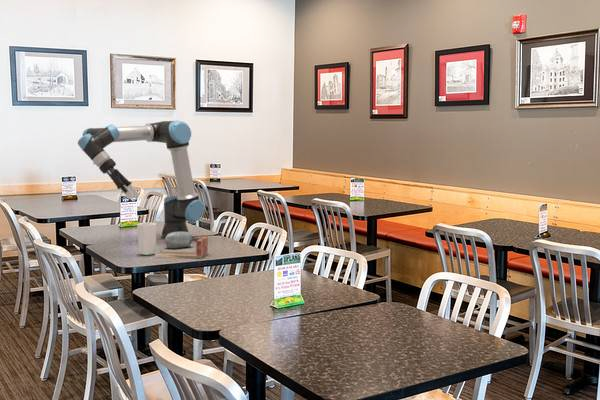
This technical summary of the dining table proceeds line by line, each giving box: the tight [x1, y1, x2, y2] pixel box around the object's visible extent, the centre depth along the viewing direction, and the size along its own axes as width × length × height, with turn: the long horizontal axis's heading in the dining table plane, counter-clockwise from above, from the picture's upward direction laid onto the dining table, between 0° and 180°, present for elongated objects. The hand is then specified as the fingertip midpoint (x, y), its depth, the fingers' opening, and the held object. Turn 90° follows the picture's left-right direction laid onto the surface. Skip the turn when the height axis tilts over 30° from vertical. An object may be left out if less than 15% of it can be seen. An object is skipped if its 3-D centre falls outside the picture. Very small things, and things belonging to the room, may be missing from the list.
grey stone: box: [164, 231, 193, 249], centre depth 330 cm, size 14×10×10 cm
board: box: [154, 236, 209, 260], centre depth 309 cm, size 12×22×8 cm, turn 82°
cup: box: [136, 222, 157, 256], centre depth 311 cm, size 7×7×15 cm
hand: (134, 196), depth 310 cm, fingers open, 13 cm apart
